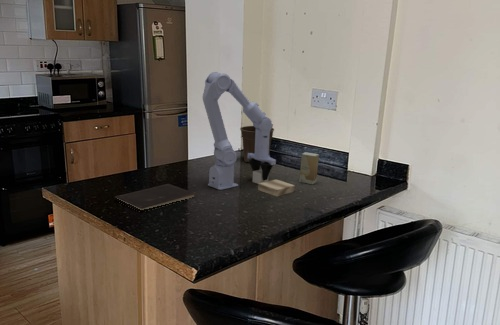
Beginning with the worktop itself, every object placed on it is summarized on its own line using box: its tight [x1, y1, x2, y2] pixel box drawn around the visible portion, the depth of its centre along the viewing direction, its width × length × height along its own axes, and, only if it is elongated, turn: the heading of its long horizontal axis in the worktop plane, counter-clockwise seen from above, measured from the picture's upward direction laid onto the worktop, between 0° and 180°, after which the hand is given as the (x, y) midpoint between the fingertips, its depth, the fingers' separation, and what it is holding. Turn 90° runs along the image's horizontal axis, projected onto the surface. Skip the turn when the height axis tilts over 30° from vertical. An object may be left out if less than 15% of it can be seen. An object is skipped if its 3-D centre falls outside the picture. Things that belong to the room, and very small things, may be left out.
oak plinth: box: [257, 178, 296, 197], centre depth 173 cm, size 10×10×3 cm
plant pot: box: [239, 125, 275, 165], centre depth 216 cm, size 16×16×16 cm
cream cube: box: [252, 169, 270, 185], centre depth 183 cm, size 5×5×5 cm
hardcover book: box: [114, 183, 196, 210], centre depth 159 cm, size 16×23×2 cm
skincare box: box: [298, 152, 320, 185], centre depth 184 cm, size 6×4×12 cm
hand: (260, 178), depth 183 cm, fingers closed on cream cube, 5 cm apart
